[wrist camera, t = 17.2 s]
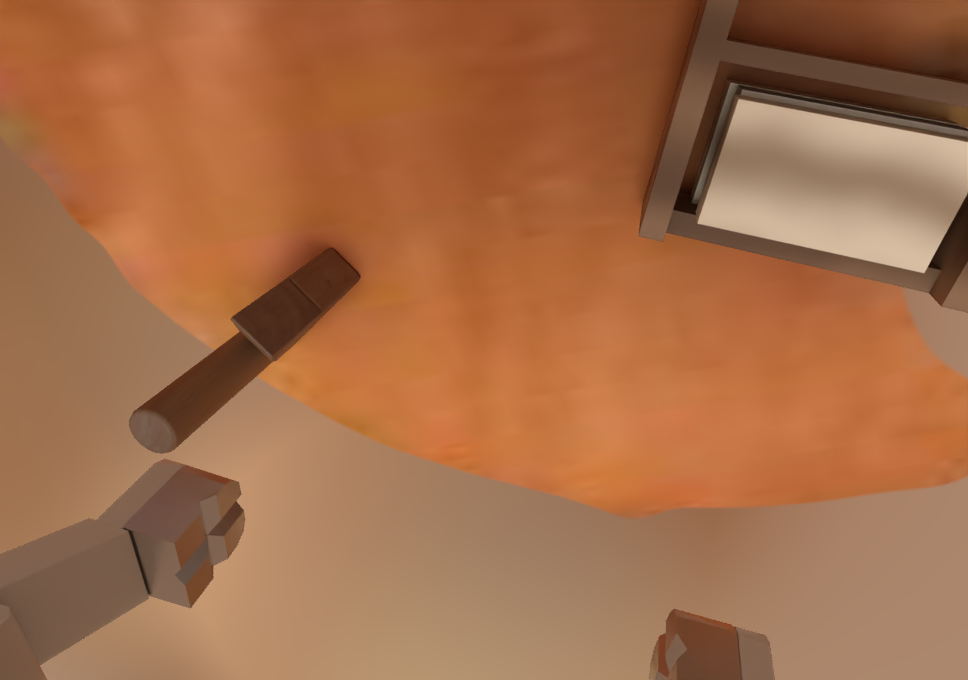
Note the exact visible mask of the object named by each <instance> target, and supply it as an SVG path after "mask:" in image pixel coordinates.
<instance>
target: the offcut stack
mask: <svg viewBox="0 0 968 680" xmlns="http://www.w3.org/2000/svg"><path fill="white" fill-rule="evenodd" d="M967 193H968V129H966V128H964V127H962V125H960V124H958V123H955V122H952V121H950V120H947V119H943V118H937V117H932V116H926V115H921V114H915V113H910V112H905V111H899V110H894V109H888V108H883V107H877V106H872V105H867V104H861V103H856V102H850V101H845V100H839V99H834V98H829V97H823V96H818V95H812V94H807V93H801V92H796V91H791V90H785V89H780V88H774V87H769V86H763V85H758V84H753V83H747V82H742V81H736V80H731V79H727V81H726V84H725V88H724V91H723V94H722V97H721V100H720V103H719V106H718V110H717V113H716V116H715V119H714V122H713V125H712V128H711V132H710V135H709V138H708V141H707V144H706V147H705V150H704V154H703V157H702V160H701V163H700V166H699V169H698V172H697V176H696V179H695V182H694V185H693V188H692V191H691V201H692V203H693V204H698V206H697V209H696V218H697V224H702V225H707V226H711V227H716V228H720V229H725V230H729V231H734V232H739V233H743V234H748V235H752V236H757V237H761V238H766V239H771V240H775V241H780V242H784V243H789V244H793V245H798V246H802V247H807V248H812V249H816V250H821V251H825V252H830V253H834V254H839V255H844V256H848V257H853V258H857V259H862V260H866V261H871V262H876V263H880V264H885V265H889V266H894V267H898V268H903V269H907V270H912V271H917V272H921V273H925V271H926V269H927V267H928V265H929V263H930V262H931V260H932V258H933V256H934V254H935V252H936V251H937V249H938V247H939V245H940V243H941V241H942V239H943V238H944V236H945V234H946V232H947V230H948V228H949V227H950V225H951V223H952V221H953V219H954V217H955V216H956V214H957V212H958V210H959V208H960V206H961V205H962V203H963V201H964V199H965V197H966V195H967Z"/></svg>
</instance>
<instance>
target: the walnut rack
mask: <svg viewBox="0 0 968 680" xmlns="http://www.w3.org/2000/svg"><path fill="white" fill-rule="evenodd" d="M738 2H739V0H701V4H700V7H699V11H698V14H697V18H696V21H695V25H694V28H693V32H692V35H691V39H690V42H689V45H688V49H687V52H686V56H685V59H684V63H683V66H682V70H681V73H680V77H679V80H678V83H677V87H676V90H675V94H674V97H673V101H672V104H671V108H670V111H669V115H668V118H667V122H666V125H665V128H664V132H663V135H662V139H661V142H660V146H659V149H658V153H657V156H656V160H655V163H654V167H653V170H652V173H651V177H650V180H649V184H648V187H647V191H646V194H645V198H644V201H643V205H642V211H641V219H640V228H639V236H640V237H644V238H648V239H653V240H657V241H661V242H663V240H664V237H665V234H666V233H670V234H674V235H678V236H683V237H687V238H691V239H696V240H700V241H705V242H709V243H713V244H718V245H722V246H726V247H731V248H735V249H739V250H744V251H748V252H752V253H757V254H761V255H765V256H770V257H774V258H778V259H783V260H787V261H792V262H796V263H800V264H805V265H809V266H813V267H818V268H822V269H826V270H831V271H835V272H839V273H844V274H848V275H852V276H857V277H861V278H865V279H870V280H874V281H879V282H883V283H887V284H892V285H896V286H900V287H905V288H909V289H914V290H918V291H922V292H926V293H929V294H930V295H931V296H932V297H933V298H934V299H935V300H936V301H937V302H938V303H939V304H940V305H941V306H942V307H946V308H950V309H954V310H959V311H963V312H967V313H968V193H967V195H966V197H965V199H964V201H963V203H962V205H961V206H960V208H959V210H958V212H957V214H956V216H955V217H954V219H953V221H952V223H951V225H950V227H949V228H948V230H947V232H946V234H945V236H944V238H943V239H942V241H941V243H940V245H939V247H938V249H937V251H936V252H935V254H934V256H933V258H932V260H931V262H930V263H929V265H928V267H927V269H926V271H925V273H921V272H917V271H912V270H907V269H903V268H898V267H894V266H889V265H885V264H880V263H876V262H871V261H866V260H862V259H857V258H853V257H848V256H844V255H839V254H834V253H830V252H825V251H821V250H816V249H812V248H807V247H802V246H798V245H793V244H789V243H784V242H780V241H775V240H771V239H766V238H761V237H757V236H752V235H748V234H743V233H739V232H734V231H729V230H725V229H720V228H716V227H711V226H707V225H702V224H697V218H696V209H697V206H698V204H693V203H692V201H691V194H686V193H682V192H679V189H680V186H681V183H682V180H683V177H684V173H685V170H686V167H687V164H688V161H689V158H690V154H691V151H692V148H693V145H694V142H695V138H696V135H697V132H698V129H699V126H700V123H701V119H702V116H703V113H704V110H705V107H706V104H707V100H708V97H709V94H710V91H711V88H712V85H713V81H714V78H715V75H716V72H717V69H718V66H719V62H720V61H723V62H728V63H733V64H739V65H744V66H749V67H755V68H760V69H765V70H771V71H776V72H781V73H787V74H792V75H797V76H803V77H808V78H813V79H819V80H824V81H829V82H835V83H840V84H845V85H851V86H856V87H861V88H867V89H872V90H877V91H883V92H888V93H893V94H899V95H904V96H909V97H914V98H920V99H925V100H930V101H936V102H941V103H946V104H952V105H957V106H962V107H968V82H967V81H962V80H956V79H951V78H945V77H940V76H934V75H929V74H923V73H918V72H912V71H907V70H902V69H896V68H891V67H885V66H880V65H874V64H869V63H863V62H858V61H852V60H847V59H841V58H836V57H830V56H825V55H819V54H814V53H808V52H803V51H797V50H792V49H786V48H781V47H775V46H770V45H764V44H759V43H753V42H748V41H742V40H737V39H731V38H727V37H728V34H729V31H730V28H731V24H732V21H733V18H734V15H735V12H736V8H737V5H738Z"/></svg>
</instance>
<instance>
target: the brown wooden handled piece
mask: <svg viewBox="0 0 968 680" xmlns="http://www.w3.org/2000/svg"><path fill="white" fill-rule="evenodd" d="M359 278H360V277H359V275H358V274H357V273H356V272H355V271H354V270H353V269H352V268H351V267H350V266H349V265H348V264H347V263H346V262H345V261H344V259H343V258H342V257H341V256H340V255H339V254H338V253H337V252H336V251H335V250H333V249H332V248H330V249H328V250H326V251H325V252H323V253H322V254H321V255H319V256H318V257H316V258H315V259H313V260H312V261H311V262H309V263H308V264H306V265H305V266H303V267H302V268H301V269H299V270H298V271H296V272H295V273H294V274H292V275H291V276H289V277H288V278H287V279H285V280H284V281H282V282H281V283H279V284H278V285H277V286H275V287H274V288H272V289H271V290H270V291H268V292H267V293H265V294H264V295H262V296H261V297H260V298H258V299H257V300H255V301H254V302H253V303H251V304H250V305H248V306H247V307H245V308H244V309H243V310H241V311H240V312H238V313H237V314H236V315H234V316H233V317H232V318H231V320H232V322H233V323H234V324H235V326H236V327H237V328H238V329H239V331H240V332H239V333H237V334H236V335H235V336H234V337H232V338H231V339H230V340H228V341H227V342H226V343H224V344H223V345H222V346H220V347H219V348H218V349H216V350H215V351H214V352H212V353H211V354H210V355H208V356H207V357H206V358H204V359H203V360H202V361H200V362H199V363H198V364H197V365H195V366H194V367H192V368H191V369H190V370H189V371H187V372H186V373H184V374H183V375H182V376H180V377H179V378H178V379H176V380H175V381H174V382H172V383H171V384H170V385H169V386H167V387H166V388H164V389H163V390H162V391H160V392H159V393H158V394H157V395H155V396H154V397H153V398H151V399H150V400H148V401H147V402H146V403H144V404H143V405H142V406H141V407H139V408H138V409H137V410H135V411H134V412H133V414H132V416H131V418H130V420H129V421H130V422H129V426H130V429H131V432H132V434H133V436H134V437H135V439H136V440H137V441H138V442H139V443H140V444H141V445H142V446H144V447H145V448H147V449H148V450H150V451H153V452H156V453H167V452H171V451H172V450H174V449H175V448H176V447H178V446H179V445H180V444H181V443H182V442H183V441H184V440H185V439H187V438H188V437H189V436H190V435H191V434H192V433H193V432H194V431H195V430H197V429H198V428H199V427H200V426H201V425H202V424H203V423H204V422H206V421H207V420H208V419H209V418H210V417H211V416H212V415H213V414H215V413H216V412H217V411H218V410H219V409H220V408H221V407H222V406H224V405H225V404H226V403H227V402H228V401H229V400H230V399H231V398H233V397H234V396H235V395H236V394H237V393H238V392H239V391H240V390H241V389H243V388H244V387H245V386H246V385H247V384H248V383H249V382H250V381H252V380H253V379H254V378H255V377H256V376H257V375H258V374H259V373H261V372H262V371H263V370H264V369H265V368H266V367H267V366H268V365H270V364H271V363H272V362H273V361H276V360H278V359H279V358H280V357H281V356H282V355H283V354H284V353H285V352H286V351H288V350H289V349H290V348H291V347H292V346H293V345H294V344H295V343H296V342H297V341H298V340H299V339H300V338H301V337H302V336H303V335H304V334H305V333H306V332H307V331H308V330H309V329H310V328H311V327H312V326H313V325H314V324H315V323H316V322H317V321H318V320H319V319H320V318H321V317H322V316H323V315H324V314H325V313H326V312H327V311H328V310H330V309H331V308H332V307H333V306H334V304H335V303H336V302H337V301H339V300H340V299H341V298H342V297H343V296H344V295H345V294H346V293H347V292H348V291H349V290H350V289H351V288H352V287H353V286H354V285H355V284H356V283H357V282H358V281H359Z"/></svg>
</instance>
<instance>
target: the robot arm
mask: <svg viewBox="0 0 968 680" xmlns="http://www.w3.org/2000/svg"><path fill="white" fill-rule="evenodd" d="M240 495H241V490H240V485H239V482H237V481H234V480H231V479H228V478H225V477H222V476H218V475H215V474H212V473H209V472H206V471H203V470H200V469H197V468H194V467H190V466H188V465H184V464H181V463H178V462H174V461H171V460H168V459H163V460H161V461H159V462H157V463H155V464H154V465H153V466H152V467H151V468H150V469H149V470H148V471H146V472H145V473H144V474H143V475H142V476H141V477H140V478H139V479H138V480H137V481H136V482H135V483H134V484H133V485H132V486H131V487H130V488H129V489H128V490H127V491H126V492H125V493H124V494H123V495H122V496H121V497H119V499H117V500H116V501H115V502H114V503H113V504H112V505H111V506H110V507H109V508H108V509H107V510H106V511H105V512H104V513H103V514H102V515H101V516H100V517H99V518H98V519H97V520H93V519H90V518H88V519H86V520H84V521H81V522H79V523H76V524H74V525H71V526H69V527H66V528H64V529H61V530H59V531H56V532H54V533H51V534H49V535H47V536H44V537H42V538H39V539H37V540H35V541H32V542H29V543H27V544H24V545H22V546H19V547H17V548H14V549H12V550H10V551H7V552H5V553H2V554H0V680H47V679H46V677H45V675H44V673H43V671H42V669H41V667H40V665H41V664H43V663H44V662H46V661H48V660H49V659H51V658H53V657H54V656H56V655H58V654H59V653H61V652H62V651H64V650H66V649H67V648H69V647H71V646H72V645H74V644H76V643H77V642H79V641H80V640H82V639H84V638H85V637H87V636H89V635H90V634H92V633H94V632H95V631H97V630H98V629H100V628H102V627H103V626H105V625H107V624H108V623H110V622H112V621H113V620H115V619H116V618H118V617H120V616H121V615H123V614H124V613H126V612H128V611H129V610H131V609H133V608H134V607H136V606H138V605H139V604H141V603H142V602H144V601H146V600H147V599H149V596H152V597H155V598H158V599H162V600H165V601H168V602H171V603H175V604H178V605H181V606H185V607H188V608H191V607H192V606H193V605H194V603H195V602H196V600H197V599H198V598H199V597H200V595H201V594H202V593H203V591H204V590H205V589H206V587H207V586H208V585H209V583H210V582H211V581H212V579H213V566H214V565H216V564H218V563H220V562H222V561H224V560H226V559H228V558H229V556H230V555H231V554H232V552H233V551H234V549H235V548H236V546H237V545H238V543H239V540H240V538H241V536H242V533H243V531H244V524H245V516H244V510H243V509H242V508H241V507H240V505H239V504H238V503H237V501H236V500H237V499H238V498H239V497H240ZM649 680H775V677H774V670H773V663H772V655H771V648H770V643H769V641H768V639H767V637H766V636H765V635H763V634H759V633H755V632H752V631H748V630H745V629H741V628H737V627H733V626H732V625H730V624H727V623H723V622H720V621H716V620H712V619H709V618H705V617H702V616H698V615H694V614H691V613H687V612H684V611H680V610H677V609H673V610H672V611H671V612H670V614H669V616H668V618H667V620H666V633H665V634H663V635H660V636H659V637H658V640H657V642H656V645H655V647H654V651H653V655H652V659H651V664H650V673H649Z"/></svg>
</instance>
